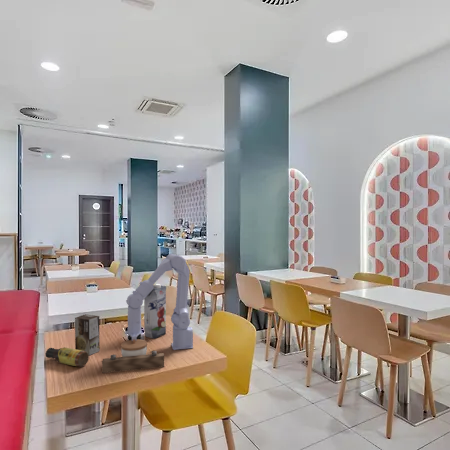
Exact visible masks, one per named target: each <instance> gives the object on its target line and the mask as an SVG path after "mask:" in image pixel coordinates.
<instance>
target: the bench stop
mask: <svg viewBox="0 0 450 450" xmlns="http://www.w3.org/2000/svg"><path fill="white" fill-rule="evenodd" d="M164 367H165V353H164V352H162V353H157V350H152V351H151V353H150V354H146V355H137V356H127V357H122V356H119V357H117V355H116V354H110V357H109V358H102V360H101V368H102V369H101V373H102V374H107V373H117V372H126V371H135V370H136V371H137V370H145V369H156V368H164Z"/></svg>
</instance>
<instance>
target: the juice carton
mask: <svg viewBox="0 0 450 450" xmlns="http://www.w3.org/2000/svg"><path fill="white" fill-rule="evenodd" d="M166 294H167V286H166V285H162V284H160V283H156V284H155V283H154V284H153V290H152V291H151V292H150V293H149V294H148V295H147V297H146V298H145V299H144V300H143V303H144V304H143V305H144V309H143V311H144V313H143V315H144V316H143V317H144V320H143V321H144V325H143V326H144V327H143V328H144V330H143V331H145V333H144V337H145V336H146V338H151V339H158V338H160V337H162V336H165V335H166V334H167V333H166V332H167V309H166V308H167V301H166V300H167V299H166V298H167V295H166Z"/></svg>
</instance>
